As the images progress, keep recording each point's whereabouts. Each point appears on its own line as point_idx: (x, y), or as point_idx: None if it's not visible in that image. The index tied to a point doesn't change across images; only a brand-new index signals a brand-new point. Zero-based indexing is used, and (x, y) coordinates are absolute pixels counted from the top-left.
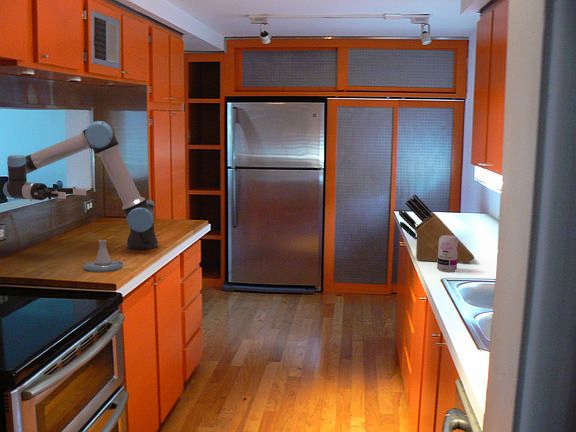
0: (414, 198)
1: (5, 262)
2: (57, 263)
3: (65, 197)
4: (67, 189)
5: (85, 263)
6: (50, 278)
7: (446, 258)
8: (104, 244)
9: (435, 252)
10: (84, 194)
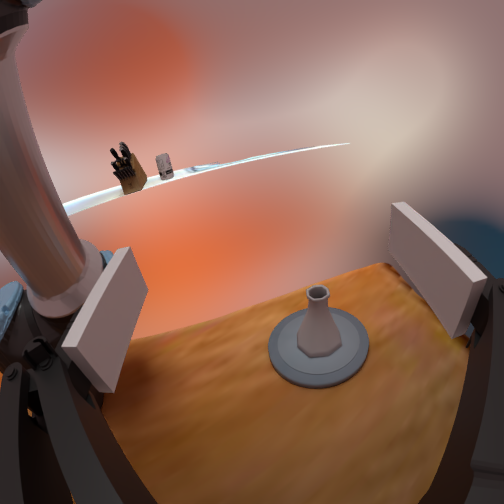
0: (123, 144)
1: None
2: (361, 473)
3: (392, 241)
4: (82, 412)
5: (342, 376)
6: (457, 347)
7: (171, 167)
8: (319, 294)
9: (141, 179)
10: (144, 288)
